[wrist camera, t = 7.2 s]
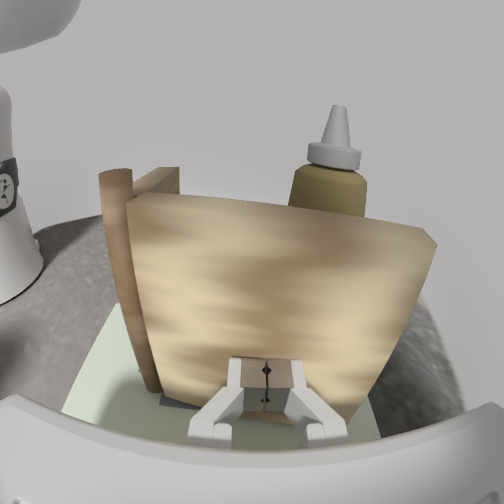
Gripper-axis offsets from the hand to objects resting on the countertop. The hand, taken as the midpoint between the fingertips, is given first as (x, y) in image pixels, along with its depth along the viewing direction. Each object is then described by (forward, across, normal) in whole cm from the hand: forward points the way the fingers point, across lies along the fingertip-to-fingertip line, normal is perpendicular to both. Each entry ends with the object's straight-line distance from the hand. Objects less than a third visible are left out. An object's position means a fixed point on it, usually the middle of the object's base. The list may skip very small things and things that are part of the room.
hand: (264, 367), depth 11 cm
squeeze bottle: (+16, -6, +6) cm, 18 cm away
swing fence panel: (+1, +1, +6) cm, 6 cm away
